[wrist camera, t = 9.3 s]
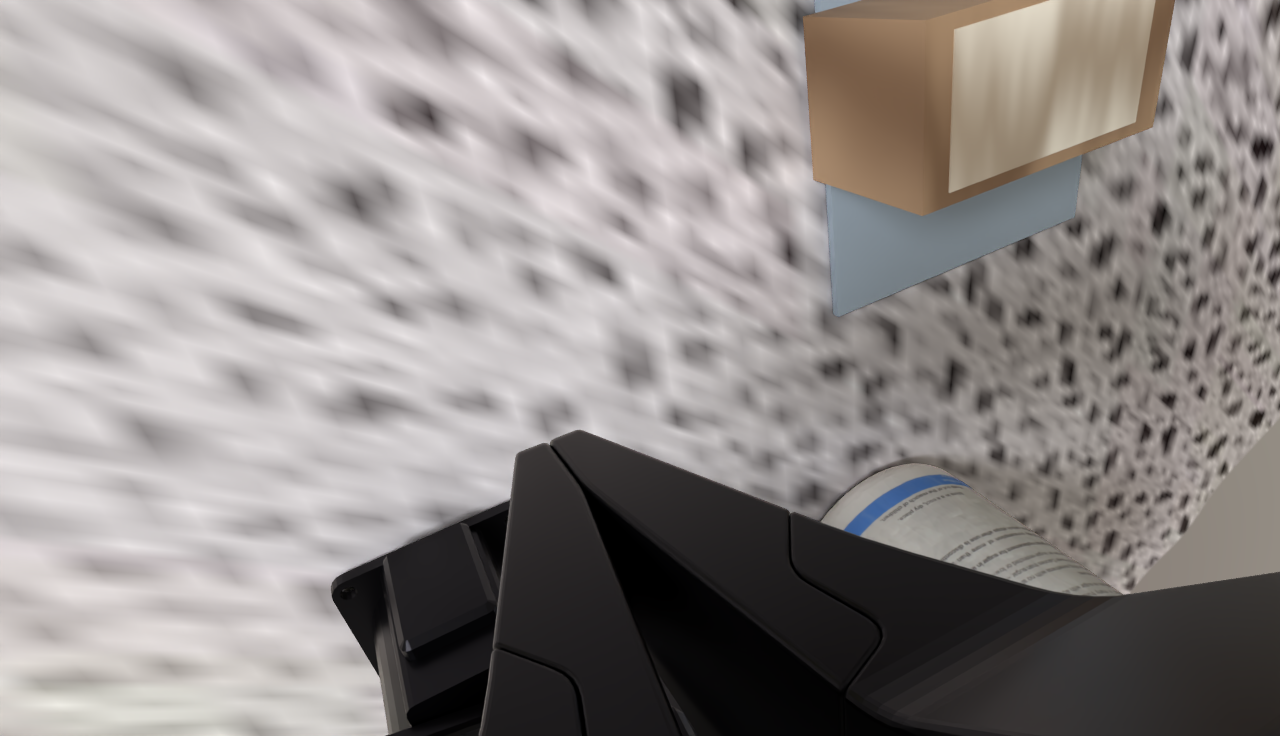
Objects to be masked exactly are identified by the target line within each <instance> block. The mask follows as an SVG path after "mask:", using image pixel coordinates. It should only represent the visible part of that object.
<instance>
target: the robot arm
mask: <svg viewBox="0 0 1280 736" xmlns="http://www.w3.org/2000/svg"><path fill="white" fill-rule="evenodd" d="M507 516H508V520H505V519H506V517H507ZM347 587H354V589H353V590H351V591H348V592H345V591H342V590H343V589H345V588H347ZM331 593H332V599H333V601H334V603H335V605H336V606H337V608H338V610H339V611H340V613H341V615H342V616H343V618H344V619H345V621H346V623H347V624H348V626H349V628H350V629H351V631H352V633H353V634H354V636H355V638H356V639H357V641H358V642H359V644H360V646H361V647H362V649H363V651H364V652H365V654H366V656H367V657H368V659H369V661H370V662H371V664H372V666H373V667H374V669H375V670H376V672H377V674H378V675H379V677H380V682H381V688H382V694H383V701H384V707H385V714H386V720H387V726H388V733H389V735H386V736H1280V572H1276V573H1269V574H1262V575H1255V576H1249V577H1242V578H1236V579H1229V580H1222V581H1215V582H1208V583H1202V584H1195V585H1188V586H1181V587H1175V588H1168V589H1161V590H1155V591H1148V592H1141V593H1134V594H1126V595H1117V596H1087V595H1074V594H1068V593H1062V592H1055V591H1050V590H1046V589H1042V588H1038V587H1034V586H1030V585H1026V584H1023V583H1019V582H1016V581H1012V580H1009V579H1005V578H1002V577H998V576H994V575H991V574H987V573H984V572H980V571H977V570H973V569H970V568H966V567H963V566H959V565H955V564H952V563H948V562H945V561H941V560H938V559H934V558H931V557H927V556H924V555H920V554H916V553H913V552H910V551H906V550H903V549H900V548H897V547H893V546H890V545H887V544H883V543H880V542H877V541H874V540H870V539H867V538H864V537H861V536H858V535H855V534H853V533H850V532H847V531H844V530H841V529H839V528H836V527H833V526H830V525H827V524H825V523H822V522H819V521H816V520H814V519H811V518H809V517H806V516H804V515H801V514H798V513H796V512H793V513H791V514H790V512H789V511H788V510H787V509H785V508H782V507H780V506H777V505H774V504H772V503H769V502H767V501H764V500H761V499H759V498H756V497H754V496H751V495H749V494H746V493H743V492H741V491H738V490H736V489H733V488H730V487H728V486H725V485H723V484H720V483H717V482H715V481H712V480H710V479H707V478H705V477H702V476H699V475H697V474H694V473H692V472H689V471H686V470H684V469H681V468H679V467H676V466H673V465H671V464H668V463H666V462H663V461H661V460H658V459H655V458H653V457H650V456H648V455H645V454H642V453H640V452H637V451H635V450H632V449H629V448H627V447H624V446H622V445H619V444H617V443H614V442H611V441H609V440H606V439H604V438H601V437H598V436H596V435H593V434H591V433H588V432H586V431H583V430H575V431H573V432H570V433H568V434H565V435H562V436H560V437H557V438H555V439H553V440H552V441H551V442H550V445H549V444H547V443H542V444H539V445H537V446H534V447H531V448H529V449H526V450H524V451H521V452H519V453H518V454H517V455H516V458H515V465H514V473H513V482H512V490H511V498H510V501H509V502H505V503H503V504H501V505H498V506H496V507H494V508H491V509H489V510H487V511H485V512H482V513H480V514H478V515H476V516H473V517H471V518H469V519H467V520H464V521H462V522H460V523H457V524H455V525H453V526H450V527H448V528H446V529H444V530H441V531H439V532H437V533H434V534H432V535H430V536H428V537H425V538H423V539H421V540H419V541H416V542H414V543H412V544H409V545H407V546H405V547H403V548H400V549H398V550H396V551H394V552H391V553H389V554H387V555H385V556H382V557H380V558H378V559H376V560H373V561H371V562H369V563H367V564H364V565H362V566H360V567H357V568H355V569H353V570H351V571H348V572H346V573H344V574H342V575H340V576H338V577H337V578H336V579H335V580H334V581H333V582H332V586H331Z"/></svg>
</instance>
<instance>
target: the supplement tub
mask: <svg viewBox="0 0 1280 736" xmlns="http://www.w3.org/2000/svg"><path fill="white" fill-rule="evenodd" d="M821 522H822V523H825V524H827V525H830V526H833V527H836V528H839V529H841V530H844V531H847V532H850V533H853V534H855V535H858V536H861V537H864V538H867V539H870V540H874V541H877V542H880V543H883V544H887V545H890V546H893V547H897V548H900V549H903V550H906V551H910V552H913V553H916V554H920V555H924V556H927V557H931V558H934V559H938V560H941V561H945V562H948V563H952V564H955V565H959V566H963V567H966V568H970V569H973V570H977V571H980V572H984V573H987V574H991V575H994V576H998V577H1002V578H1005V579H1009V580H1012V581H1016V582H1019V583H1023V584H1026V585H1030V586H1034V587H1038V588H1042V589H1046V590H1050V591H1055V592H1062V593H1068V594H1074V595H1087V596H1117V595H1123V594H1122V593H1120V592H1119V591H1117V590H1116V589H1114V588H1113V587H1112V586H1110V585H1109V584H1107V583H1106V582H1104V581H1103V580H1102V579H1100V578H1099V577H1097V576H1096V575H1095V574H1093V573H1092V572H1090V571H1089V570H1087V569H1086V568H1085V567H1083V566H1082V565H1080V564H1079V563H1077V562H1076V561H1075V560H1073V559H1072V558H1070V557H1069V556H1067V555H1066V554H1065V553H1063V552H1062V551H1060V550H1059V549H1057V548H1056V547H1055V546H1053V545H1052V544H1050V543H1049V542H1048V541H1046V540H1045V539H1043V538H1042V537H1040V536H1039V535H1038V534H1036V533H1035V532H1033V531H1032V530H1030V529H1029V528H1028V527H1026V526H1025V525H1023V524H1022V523H1020V522H1019V521H1018V520H1016V519H1015V518H1013V517H1012V516H1010V515H1009V514H1007V513H1006V512H1005V511H1003V510H1002V509H1000V508H999V507H997V506H996V505H995V504H993V503H992V502H990V501H989V500H987V499H986V498H985V497H983V496H982V495H980V494H979V493H978V492H976V491H975V490H973V489H972V488H971V487H969V486H968V485H966V484H965V483H963V482H962V481H960V480H959V479H957V478H956V477H954V476H953V475H951V474H950V473H948V472H946V471H944V470H942V469H940V468H938V467H935V466H932V465H927V464H916V463H912V464H904V465H899V466H895V467H891V468H888V469H885V470H883V471H881V472H878V473H877V474H875V475H873V476H871V477H869V478H867V479H866V480H864V481H862V482H861V483H860V484H858V485H857V486H855V487H854V488H853V489H851V490H850V491H849V492H848V493H847V494H845V495H844V496H843V497H842V498H841V499H840V500H839V501H838V502H837V503H836V504H835V505H834V506H833V507H832V508H831V510H830V511H829V512H828V513H827V514H826V515H825V517H824V518H823V519H822V521H821Z"/></svg>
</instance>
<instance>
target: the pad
mask: <svg viewBox="0 0 1280 736" xmlns="http://www.w3.org/2000/svg"><path fill="white" fill-rule="evenodd" d="M857 1H861V0H814V2H815V13H818V12H821V11H825V10H828V9H832V8H836V7H839V6H843V5H846V4H850V3H853V2H857ZM1082 155H1083V154H1082ZM1082 155H1079V156H1077V157H1074V158H1072V159H1069V160H1066V161H1064V162H1061V163H1059V164H1056V165H1054V166H1051V167H1048V168H1046V169H1043V170H1041V171H1038V172H1035V173H1033V174H1030V175H1028V176H1025V177H1023V178H1020V179H1017V180H1015V181H1012V182H1010V183H1007V184H1005V185H1002V186H999V187H997V188H994V189H992V190H989V191H986V192H984V193H981V194H979V195H976V196H974V197H971V198H968V199H966V200H963V201H961V202H958V203H955V204H953V205H950V206H948V207H945V208H943V209H940V210H937V211H935V212H932V213H930V214H927V215H924V216H920V215H917V214H914V213H911V212H908V211H905V210H902V209H899V208H896V207H893V206H890V205H887V204H884V203H881V202H878V201H875V200H872V199H869V198H866V197H863V196H860V195H857V194H854V193H851V192H848V191H845V190H842V189H839V188H836V187H833V186H830V185H827V184H826V200H827V217H828V233H829V250H830V266H831V283H832V299H833V314H834V315H836V316H837V317H840V316H842V315H844V314H847V313H849V312H851V311H854V310H856V309H859V308H861V307H863V306H866V305H868V304H870V303H873V302H875V301H877V300H880V299H882V298H885V297H887V296H889V295H892V294H894V293H896V292H899V291H901V290H903V289H906V288H908V287H911V286H913V285H915V284H918V283H920V282H922V281H925V280H927V279H929V278H932V277H934V276H937V275H939V274H941V273H944V272H946V271H948V270H951V269H953V268H955V267H958V266H960V265H963V264H965V263H967V262H970V261H972V260H974V259H977V258H979V257H981V256H984V255H986V254H989V253H991V252H993V251H996V250H998V249H1000V248H1003V247H1005V246H1007V245H1010V244H1012V243H1015V242H1017V241H1019V240H1022V239H1024V238H1026V237H1029V236H1031V235H1033V234H1036V233H1038V232H1041V231H1043V230H1045V229H1048V228H1050V227H1052V226H1055V225H1057V224H1059V223H1062V222H1064V221H1067V220H1069V219H1071V218H1074V217H1075V210H1076V202H1077V194H1078V186H1079V179H1080V171H1081V163H1082Z"/></svg>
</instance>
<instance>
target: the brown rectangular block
mask: <svg viewBox="0 0 1280 736" xmlns="http://www.w3.org/2000/svg"><path fill="white" fill-rule="evenodd" d="M1174 3H1175V0H861V1H857V2H853V3H850V4H846V5H843V6H839V7H836V8H832V9H828V10H825V11H821V12H818V13H814V14H811V15H807V16H803V24H804V40H805V55H806V71H807V86H808V102H809V117H810V133H811V148H812V164H813V179H814V180H815V181H818V182H821V183H824V184H827V185H830V186H833V187H836V188H839V189H842V190H845V191H848V192H851V193H854V194H857V195H860V196H863V197H866V198H869V199H872V200H875V201H878V202H881V203H884V204H887V205H890V206H893V207H896V208H899V209H902V210H905V211H908V212H911V213H914V214H917V215H920V216H924V215H927V214H930V213H932V212H935V211H937V210H940V209H943V208H945V207H948V206H950V205H953V204H955V203H958V202H961V201H963V200H966V199H968V198H971V197H974V196H976V195H979V194H981V193H984V192H986V191H989V190H992V189H994V188H997V187H999V186H1002V185H1005V184H1007V183H1010V182H1012V181H1015V180H1017V179H1020V178H1023V177H1025V176H1028V175H1030V174H1033V173H1035V172H1038V171H1041V170H1043V169H1046V168H1048V167H1051V166H1054V165H1056V164H1059V163H1061V162H1064V161H1066V160H1069V159H1072V158H1074V157H1077V156H1079V155H1082V154H1085V153H1087V152H1090V151H1092V150H1095V149H1097V148H1100V147H1103V146H1105V145H1108V144H1110V143H1113V142H1116V141H1118V140H1121V139H1123V138H1126V137H1128V136H1131V135H1134V134H1136V133H1139V132H1141V131H1144V130H1147V129H1149V128H1152V127H1153V122H1154V117H1155V111H1156V105H1157V100H1158V94H1159V88H1160V83H1161V77H1162V71H1163V65H1164V60H1165V54H1166V48H1167V43H1168V37H1169V31H1170V26H1171V20H1172V14H1173V9H1174Z"/></svg>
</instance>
